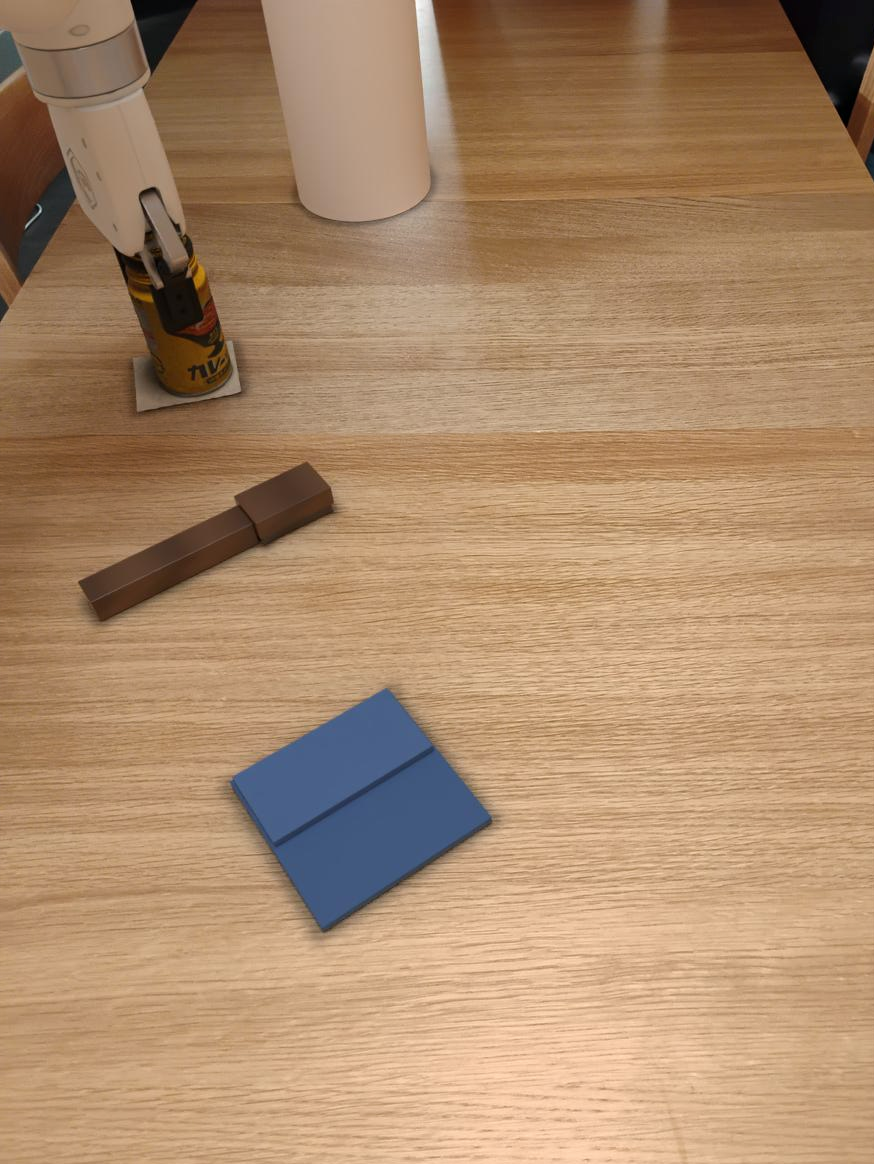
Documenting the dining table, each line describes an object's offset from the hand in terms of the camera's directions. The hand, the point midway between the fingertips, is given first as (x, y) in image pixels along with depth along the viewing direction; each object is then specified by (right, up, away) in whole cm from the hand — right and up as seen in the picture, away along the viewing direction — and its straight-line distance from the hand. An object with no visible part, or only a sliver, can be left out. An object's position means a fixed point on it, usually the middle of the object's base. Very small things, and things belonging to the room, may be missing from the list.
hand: (165, 303), depth 78 cm
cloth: (+17, -36, -20) cm, 44 cm away
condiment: (0, -4, +6) cm, 7 cm away
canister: (+13, +20, +25) cm, 34 cm away
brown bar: (+6, -20, -7) cm, 22 cm away
